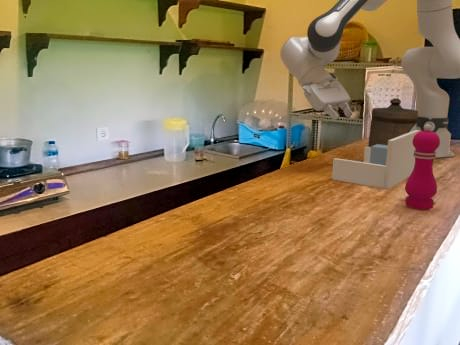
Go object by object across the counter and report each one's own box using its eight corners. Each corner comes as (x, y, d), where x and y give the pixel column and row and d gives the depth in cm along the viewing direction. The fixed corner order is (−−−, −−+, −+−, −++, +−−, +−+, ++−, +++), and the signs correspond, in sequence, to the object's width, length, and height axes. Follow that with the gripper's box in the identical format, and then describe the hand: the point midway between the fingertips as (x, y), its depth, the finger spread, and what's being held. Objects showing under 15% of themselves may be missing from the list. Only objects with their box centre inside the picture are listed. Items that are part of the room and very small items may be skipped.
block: (374, 173, 144) (377, 144, 142) (391, 176, 141) (394, 146, 139) (368, 176, 140) (371, 146, 138) (385, 179, 137) (388, 148, 135)
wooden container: (419, 168, 156) (426, 100, 151) (373, 167, 157) (379, 99, 151) (403, 158, 171) (410, 96, 165) (362, 158, 171) (367, 96, 166)
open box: (364, 167, 156) (368, 125, 152) (415, 175, 146) (420, 130, 143) (331, 182, 137) (334, 134, 133) (387, 192, 127) (392, 140, 124)
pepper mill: (401, 207, 115) (409, 124, 110) (405, 199, 121) (413, 121, 116) (433, 212, 112) (443, 127, 107) (436, 204, 118) (446, 123, 113)
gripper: (307, 76, 137) (336, 112, 134) (337, 74, 153) (364, 107, 150) (293, 90, 141) (321, 127, 137) (324, 88, 157) (350, 120, 153)
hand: (343, 117), depth 144 cm, fingers open, 8 cm apart
